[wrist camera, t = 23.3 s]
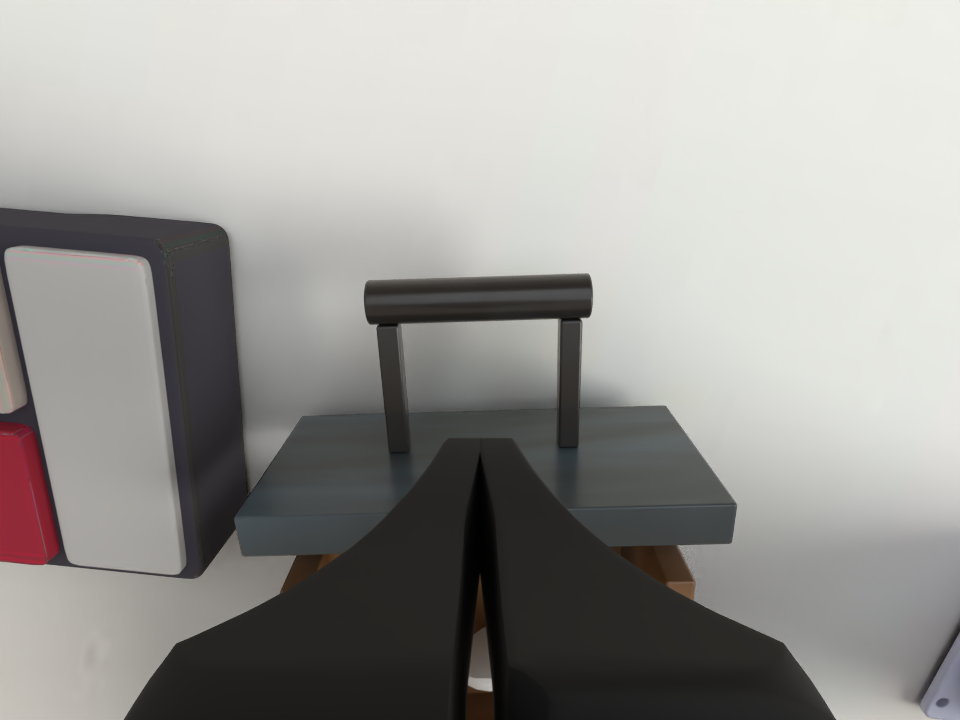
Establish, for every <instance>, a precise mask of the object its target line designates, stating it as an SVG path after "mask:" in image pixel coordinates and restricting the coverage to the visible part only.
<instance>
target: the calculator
mask: <svg viewBox="0 0 960 720" xmlns="http://www.w3.org/2000/svg"><path fill="white" fill-rule="evenodd" d="M246 500H247V485H246V471H245V457H244V443H243V429H242V416H241V402H240V388H239V374H238V361H237V347H236V333H235V319H234V305H233V292H232V278H231V264H230V251H229V240H228V236H227V233H226V232H225V230H224V229H223V228H222V227H220V226H218V225H216V224H210V223H201V222H190V221H179V220H167V219H155V218H144V217H132V216H121V215H102V214H63V213H52V212H40V211H29V210H18V209H6V208H0V561H1V562H11V563H20V564H30V565H44V564H49V565H59V566H69V567H79V568H88V569H98V570H108V571H118V572H127V573H137V574H147V575H157V576H166V577H176V578H188V579H194V578H197V577H199V576H201V575H202V574H203V572H204V571H205V570H206V568H207V567H208V566H209V564H210V563H211V562H212V560H213V559H214V558H215V556H216V555H217V554H218V552H219V551H220V550H221V548H222V547H223V545H224V544H225V543H226V541H227V540H228V539H229V537H230V536H231V535H232V533H233V532H234V531H235V529H236V525H235V521H234V518H235V516H236V514H237V513H238V511H239V510H240V508H241V507H242V505H243V504H244V503H245V501H246Z"/></svg>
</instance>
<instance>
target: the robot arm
mask: <svg viewBox="0 0 960 720" xmlns="http://www.w3.org/2000/svg"><path fill="white" fill-rule="evenodd" d="M479 578H481V587H482V596H483V606H484V615H485V624H486V633H487V642H488V652H489V661H490V670H491V679H492V692H493V707H494V720H836V719H835V717H834V716H833V714H832V713H831V711H830V709H829V708H828V706H827V704H826V703H825V701H824V700H823V698H822V696H821V695H820V693H819V692H818V690H817V689H816V687H815V686H814V684H813V683H812V681H811V680H810V678H809V677H808V676H807V674H806V673H805V672H804V670H803V669H802V668H801V666H800V665H799V664H798V662H797V661H796V660H795V658H794V657H793V656H792V654H791V653H790V652H789V650H788V649H787V647H786V646H785V645H784V643H782V642H780V641H778V640H775V639H773V638H771V637H769V636H767V635H764V634H762V633H760V632H758V631H755V630H753V629H751V628H749V627H747V626H744V625H742V624H740V623H738V622H735V621H733V620H731V619H729V618H727V617H724V616H722V615H720V614H718V613H716V612H714V611H712V610H710V609H708V608H706V607H704V606H702V605H700V604H698V603H697V602H695V601H693V600H691V599H689V598H687V597H685V596H684V595H682V594H680V593H678V592H676V591H674V590H673V589H671V588H669V587H668V586H666V585H664V584H663V583H661V582H659V581H658V580H656V579H654V578H653V577H651V576H650V575H648V574H647V573H645V572H644V571H642V570H641V569H639V568H638V567H636V566H635V565H633V564H632V563H630V562H629V561H628V560H626V559H625V558H623V557H622V556H620V555H619V554H618V553H616V552H615V551H614V550H612V549H611V548H610V547H608V546H607V545H606V544H605V543H603V542H602V541H601V540H600V539H599V538H597V537H596V536H595V535H594V534H593V533H591V532H590V531H589V530H588V529H587V528H586V527H584V526H583V525H582V524H581V523H580V522H579V521H578V520H577V519H576V518H575V517H574V516H573V515H572V514H571V513H570V512H569V511H568V510H567V509H566V507H565V506H564V505H563V504H562V503H561V502H560V501H559V500H558V499H557V498H556V496H555V495H554V494H553V493H552V492H551V490H550V489H549V488H548V487H547V486H546V484H545V483H544V482H543V481H542V480H541V478H540V477H539V476H538V474H537V473H536V472H535V470H534V469H533V468H532V466H531V465H530V463H529V462H528V461H527V459H526V458H525V456H524V455H523V453H522V451H521V450H520V448H519V446H518V444H517V443H516V442H515V441H514V440H513V439H512V438H448V439H447V440H446V441H445V442H444V443H443V444H442V446H441V448H440V449H439V451H438V453H437V454H436V456H435V457H434V459H433V460H432V462H431V463H430V464H429V466H428V467H427V469H426V470H425V471H424V473H423V474H422V475H421V476H420V478H419V479H418V480H417V482H416V483H415V484H414V485H413V487H412V488H411V489H410V490H409V491H408V493H407V494H406V495H405V496H404V497H403V498H402V499H401V500H400V501H399V503H398V504H397V505H396V506H395V507H394V508H393V509H392V510H391V511H390V512H389V513H388V514H387V515H386V516H385V517H384V518H383V519H382V520H381V521H380V522H379V523H378V524H377V525H376V526H375V527H374V528H373V529H372V530H371V531H370V532H369V533H368V534H366V535H365V536H364V537H363V538H362V539H361V540H359V541H358V542H357V543H356V544H355V545H353V546H352V547H351V548H350V549H348V550H347V551H345V552H344V553H342V554H341V555H340V556H338V557H337V558H335V559H334V560H333V561H331V562H330V563H328V564H327V565H325V566H324V567H323V568H321V569H320V570H318V571H317V572H316V573H314V574H313V575H311V576H309V577H308V578H306V579H305V580H303V581H301V582H300V583H298V584H296V585H295V586H293V587H291V588H290V589H288V590H286V591H284V592H283V593H281V594H279V595H277V596H275V597H274V598H272V599H270V600H268V601H266V602H265V603H263V604H261V605H259V606H257V607H255V608H253V609H251V610H249V611H247V612H245V613H243V614H241V615H239V616H237V617H234V618H232V619H230V620H228V621H226V622H224V623H221V624H219V625H217V626H215V627H213V628H211V629H208V630H206V631H204V632H202V633H200V634H198V635H195V636H193V637H191V638H188V639H186V640H184V641H181V642H179V643H177V644H176V645H175V646H174V647H173V649H172V650H171V652H170V653H169V654H168V656H167V657H166V658H165V660H164V661H163V662H162V664H161V665H160V666H159V668H158V669H157V670H156V672H155V673H154V674H153V676H152V677H151V678H150V680H149V681H148V683H147V684H146V686H145V687H144V689H143V690H142V692H141V693H140V695H139V696H138V698H137V700H136V701H135V703H134V704H133V706H132V707H131V709H130V711H129V712H128V714H127V715H126V717H125V719H124V720H466V707H467V692H468V679H469V670H470V661H471V651H472V642H473V633H474V624H475V615H476V606H477V596H478V587H479ZM920 708H921V710H922V711H923V712H924V714H925V715H926V716H927V717H929V718H933V719H942V720H960V633H959V634H958V636H957V638H956V640H955V642H954V643H953V645H952V647H951V649H950V651H949V652H948V654H947V656H946V658H945V659H944V661H943V663H942V665H941V667H940V668H939V670H938V672H937V674H936V676H935V677H934V679H933V681H932V683H931V685H930V686H929V688H928V690H927V692H926V693H925V695H924V697H923V699H922V701H921V703H920Z"/></svg>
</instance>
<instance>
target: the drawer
mask: <svg viewBox="0 0 960 720" xmlns="http://www.w3.org/2000/svg"><path fill="white" fill-rule="evenodd" d="M592 305H593V288H592V281H591V277H590V275H589V274H587V273H586V274H555V275H524V276H493V277H462V278H431V279H400V280H369V281H367V282H366V285H365V290H364V307H365V314H366V318H367V321H368V323H369V324H371V325H378V326H377V338H378V348H379V358H380V368H381V378H382V388H383V398H384V408H385V414H362V415H327V416H303V417H302V418H301V419H300V421H299V422H298V424H297V425H296V427H295V428H294V430H293V431H292V432H291V434H290V435H289V437H288V438H287V440H286V441H285V443H284V444H283V446H282V447H281V449H280V450H279V452H278V453H277V455H276V456H275V458H274V459H273V461H272V462H271V464H270V465H269V467H268V468H267V470H266V471H265V473H264V474H263V476H262V477H261V479H260V480H259V482H258V483H257V485H256V486H255V488H254V489H253V491H252V492H251V494H250V495H249V497H248V498H247V500H246V501H245V503H244V504H243V505H242V507H241V508H240V510H239V511H238V513H237V514H236V516H235V518H234V521H235V525H236V530H237V535H238V539H239V544H240V548H241V553H242V556H282V555H297V556H296V558H295V561H294V563H293V565H292V567H291V569H290V572H289V574H288V576H287V578H286V580H285V583H284V585H283V587H282V589H281V591H280V594H281V593H283V592H284V591H286V590H288V589H290V588H291V587H293V586H295V585H296V584H298V583H300V582H301V581H303V580H305V579H306V578H308V577H309V576H311V575H313V574H314V573H316V572H317V571H318V570H320V569H321V568H323V567H324V566H325V565H327V564H328V563H330V562H331V561H333V560H334V559H335V558H337V557H338V556H340V555H341V554H342V553H344V552H345V551H347V550H348V549H350V548H351V547H352V546H353V545H355V544H356V543H357V542H358V541H359V540H361V539H362V538H363V537H364V536H365V535H366V534H368V533H369V532H370V531H371V530H372V529H373V528H374V527H375V526H376V525H377V524H378V523H379V522H380V521H381V520H382V519H383V518H384V517H385V516H386V515H387V514H388V513H389V512H390V511H391V510H392V509H393V508H394V507H395V506H396V505H397V504H398V503H399V501H400V500H401V499H402V498H403V497H404V496H405V495H406V494H407V493H408V491H409V490H410V489H411V488H412V487H413V485H414V484H415V483H416V482H417V480H418V479H419V478H420V476H421V475H422V474H423V473H424V471H425V470H426V469H427V467H428V466H429V464H430V463H431V462H432V460H433V459H434V457H435V456H436V454H437V453H438V451H439V449H440V448H441V446H442V444H443V443H444V442H445V441H446V440H447V439H448V438H512V439H513V440H514V441H515V442H516V443H517V444H518V446H519V448H520V450H521V451H522V453H523V455H524V456H525V458H526V459H527V461H528V462H529V463H530V465H531V466H532V468H533V469H534V470H535V472H536V473H537V474H538V476H539V477H540V478H541V480H542V481H543V482H544V483H545V484H546V486H547V487H548V488H549V489H550V490H551V492H552V493H553V494H554V495H555V496H556V498H557V499H558V500H559V501H560V502H561V503H562V504H563V505H564V506H565V507H566V509H567V510H568V511H569V512H570V513H571V514H572V515H573V516H574V517H575V518H576V519H577V520H578V521H579V522H580V523H581V524H582V525H583V526H584V527H586V528H587V529H588V530H589V531H590V532H591V533H593V534H594V535H595V536H596V537H597V538H599V539H600V540H601V541H602V542H603V543H605V544H606V545H607V546H608V547H610V548H611V549H612V550H614V551H615V552H616V553H618V554H619V555H620V556H622V557H623V558H625V559H626V560H628V561H629V562H630V563H632V564H633V565H635V566H636V567H638V568H639V569H641V570H642V571H644V572H645V573H647V574H648V575H650V576H651V577H653V578H654V579H656V580H658V581H659V582H661V583H663V584H664V585H666V586H668V587H669V588H671V589H673V590H674V591H676V592H678V593H680V594H682V595H684V596H685V597H687V598H689V599H691V600H693V598H694V590H695V580H694V578H693V576H692V574H691V572H690V570H689V568H688V566H687V564H686V562H685V560H684V558H683V556H682V554H681V552H680V550H679V548H678V546H677V545H701V544H730V543H731V542H732V537H733V530H734V523H735V516H736V509H737V504H736V502H735V501H734V499H733V498H732V497H731V495H730V494H729V493H728V491H727V490H726V488H725V487H724V486H723V484H722V483H721V481H720V480H719V479H718V477H717V476H716V475H715V473H714V472H713V470H712V469H711V468H710V466H709V465H708V464H707V462H706V461H705V459H704V458H703V457H702V455H701V454H700V452H699V451H698V450H697V448H696V447H695V446H694V444H693V443H692V441H691V440H690V439H689V437H688V436H687V435H686V433H685V432H684V430H683V429H682V428H681V426H680V425H679V423H678V422H677V421H676V419H675V418H674V417H673V415H672V414H671V412H670V411H669V410H668V408H667V407H666V406H634V407H600V408H580V385H581V351H582V320H581V319H580V318H589V317H590V315H591V312H592ZM539 319H558V361H557V409H532V410H498V411H464V412H430V413H408V402H407V391H406V379H405V367H404V355H403V343H402V331H401V324H411V323H443V322H475V321H507V320H539ZM484 627H486V624H485V615H484V606H483V596H482V587H481V578H479V587H478V596H477V606H476V615H475V624H474V633H473V635H474V634H475V633H477V632H478V631H479V630H481V629H482V628H484ZM466 720H494V707H493V692H492V691H490V692H489V691H483V690H477V689H475V688H473V687H470V686H468V692H467V707H466Z"/></svg>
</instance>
